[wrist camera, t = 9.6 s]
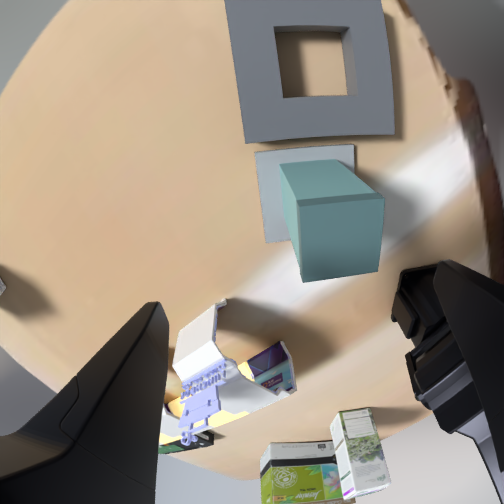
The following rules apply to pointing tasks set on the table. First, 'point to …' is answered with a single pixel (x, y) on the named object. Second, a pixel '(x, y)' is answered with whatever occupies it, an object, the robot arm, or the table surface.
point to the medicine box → (2, 286)
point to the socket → (311, 107)
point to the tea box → (301, 474)
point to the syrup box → (359, 453)
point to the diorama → (220, 381)
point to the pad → (272, 183)
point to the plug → (331, 219)
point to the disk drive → (176, 446)
